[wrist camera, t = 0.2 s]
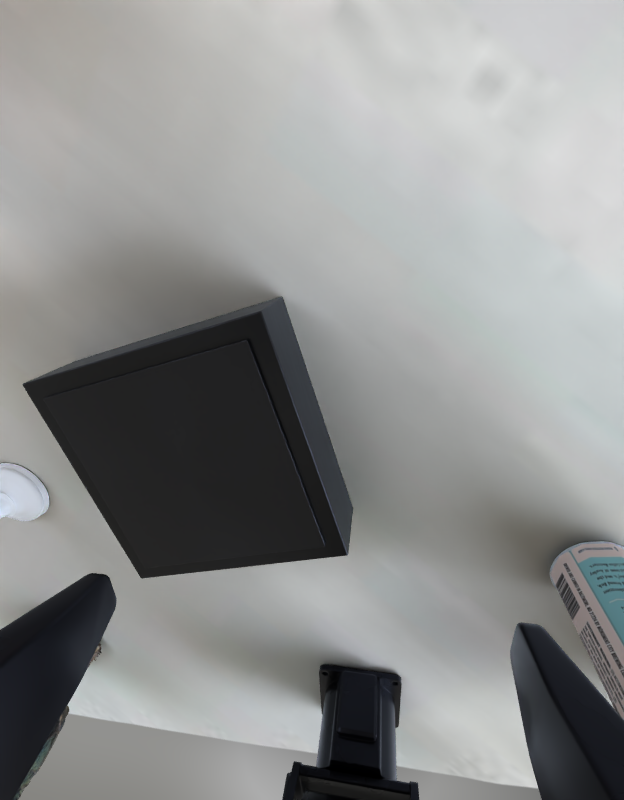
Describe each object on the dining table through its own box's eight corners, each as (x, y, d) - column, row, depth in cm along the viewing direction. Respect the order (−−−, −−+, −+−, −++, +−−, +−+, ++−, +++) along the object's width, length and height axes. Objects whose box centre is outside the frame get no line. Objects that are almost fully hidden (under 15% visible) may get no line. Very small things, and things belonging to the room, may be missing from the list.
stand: (353, 508, 25) (348, 558, 21) (171, 535, 29) (139, 581, 25) (282, 296, 20) (259, 311, 17) (75, 360, 24) (18, 385, 20)
